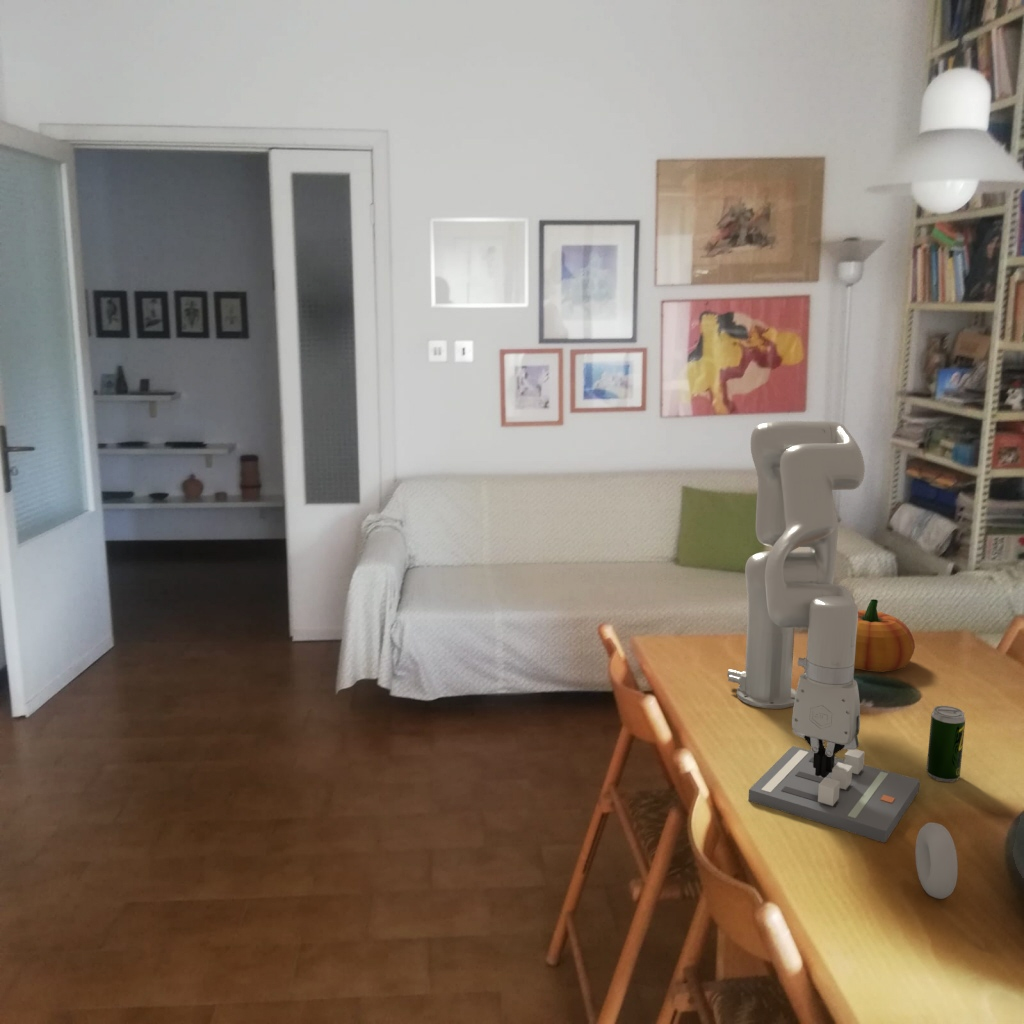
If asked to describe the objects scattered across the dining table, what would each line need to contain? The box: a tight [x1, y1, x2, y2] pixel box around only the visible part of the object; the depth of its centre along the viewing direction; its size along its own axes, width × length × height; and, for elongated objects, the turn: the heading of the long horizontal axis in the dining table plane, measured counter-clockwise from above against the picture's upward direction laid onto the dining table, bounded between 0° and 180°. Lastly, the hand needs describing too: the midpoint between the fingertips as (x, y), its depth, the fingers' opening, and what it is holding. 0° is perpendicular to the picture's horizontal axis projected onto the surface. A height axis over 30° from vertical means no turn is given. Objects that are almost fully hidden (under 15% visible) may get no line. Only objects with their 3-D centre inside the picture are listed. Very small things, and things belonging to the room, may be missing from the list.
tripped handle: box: [832, 762, 853, 790], centre depth 157 cm, size 2×3×3 cm
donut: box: [914, 822, 959, 900], centre depth 131 cm, size 10×4×10 cm, turn 173°
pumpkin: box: [854, 598, 916, 673], centre depth 217 cm, size 19×19×15 cm
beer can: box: [926, 705, 966, 783], centre depth 164 cm, size 5×5×12 cm
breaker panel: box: [748, 745, 921, 844], centre depth 158 cm, size 22×20×5 cm
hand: (823, 773), depth 159 cm, fingers closed
